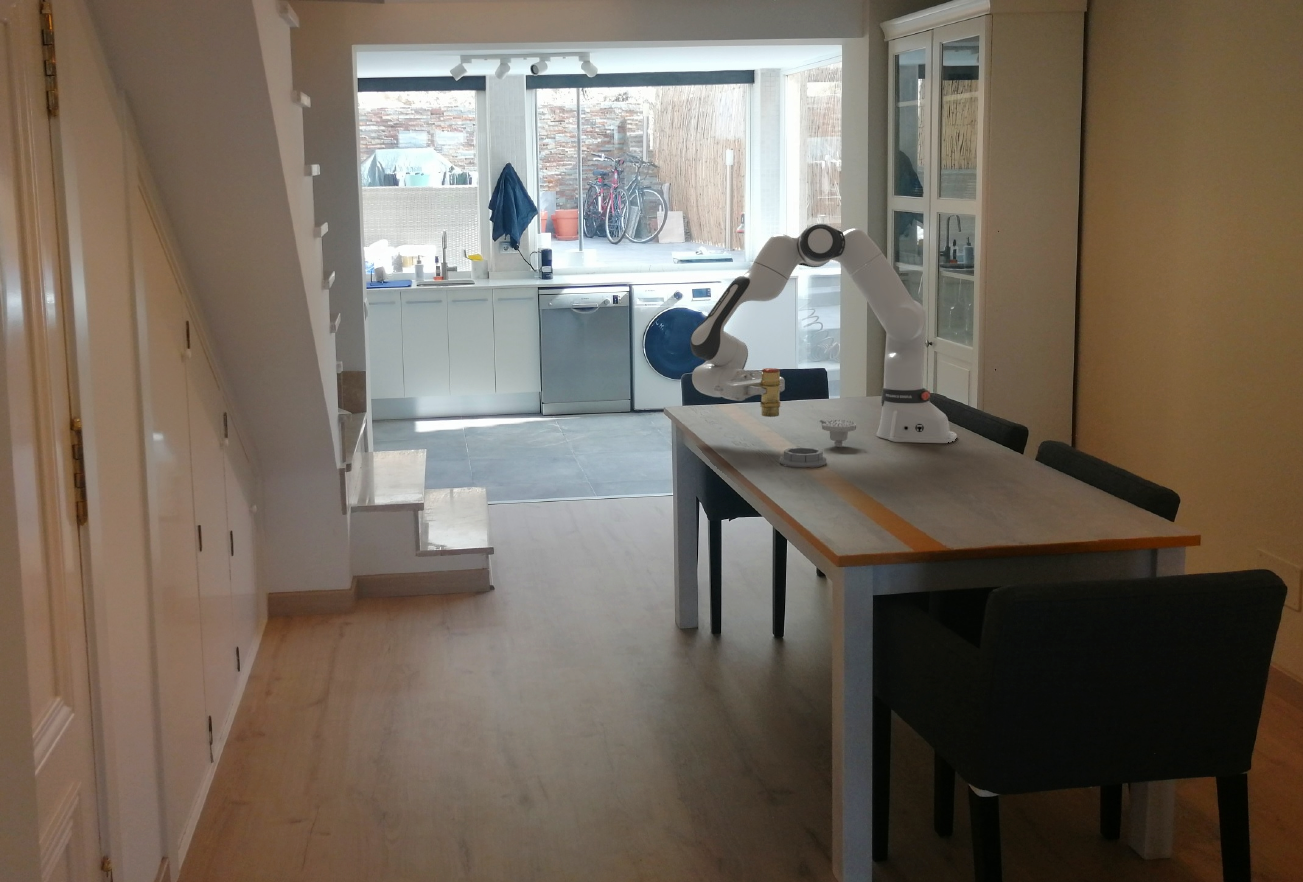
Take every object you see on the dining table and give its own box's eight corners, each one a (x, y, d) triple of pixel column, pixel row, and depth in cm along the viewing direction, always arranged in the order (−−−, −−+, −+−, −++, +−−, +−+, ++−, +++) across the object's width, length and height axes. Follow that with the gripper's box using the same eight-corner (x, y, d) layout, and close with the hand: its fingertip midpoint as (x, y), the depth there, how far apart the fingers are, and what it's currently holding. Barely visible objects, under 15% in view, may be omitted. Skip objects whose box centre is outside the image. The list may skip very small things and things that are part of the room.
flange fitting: (831, 460, 330) (831, 448, 329) (819, 469, 319) (819, 457, 319) (787, 457, 335) (787, 445, 334) (774, 465, 324) (774, 453, 323)
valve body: (782, 414, 343) (783, 368, 341) (777, 417, 338) (777, 371, 336) (763, 413, 345) (764, 367, 343) (757, 416, 340) (758, 370, 338)
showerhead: (820, 417, 353) (856, 418, 351) (820, 442, 354) (856, 443, 352) (818, 422, 344) (855, 423, 342) (818, 448, 345) (854, 450, 343)
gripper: (710, 377, 343) (745, 382, 332) (763, 369, 356) (798, 374, 345) (710, 399, 344) (745, 405, 334) (762, 391, 357) (798, 397, 346)
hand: (772, 390), depth 339 cm, fingers closed on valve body, 5 cm apart
